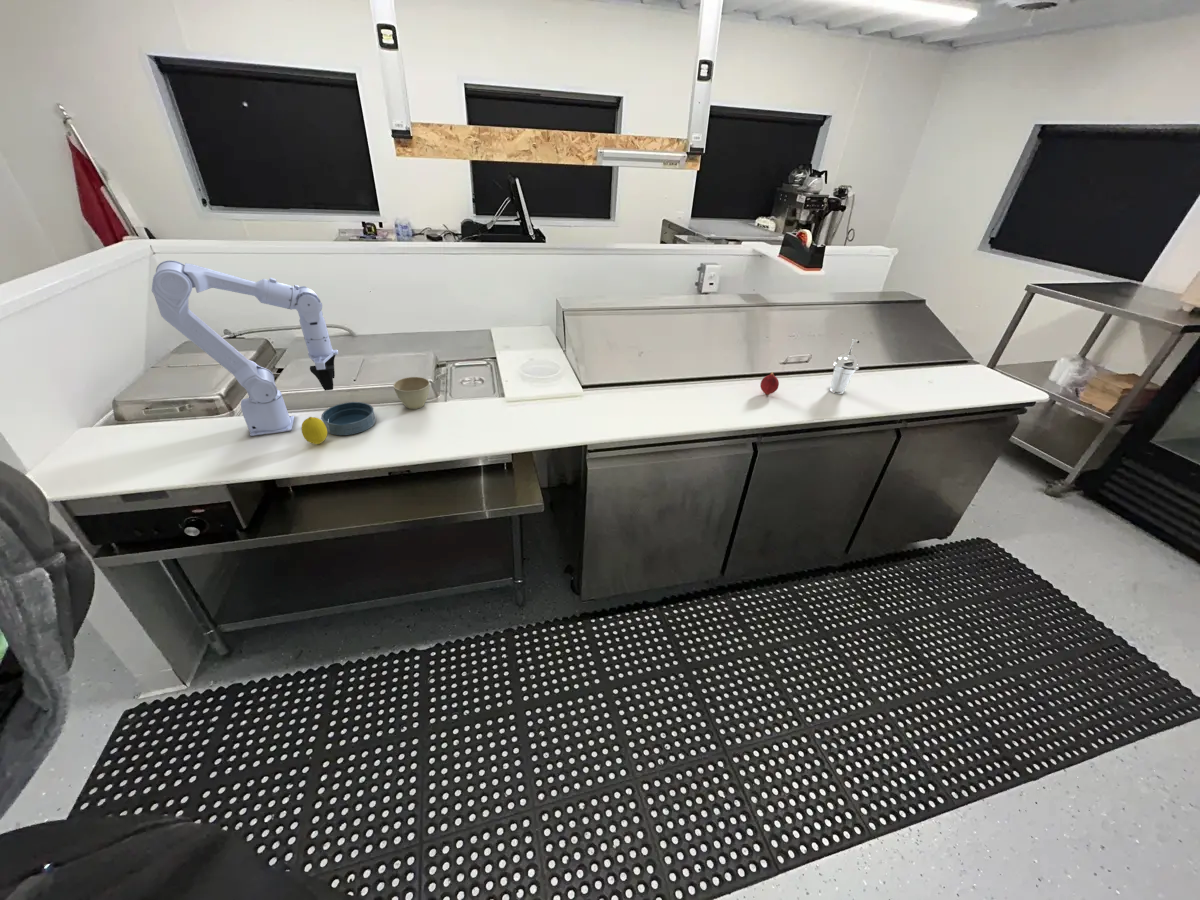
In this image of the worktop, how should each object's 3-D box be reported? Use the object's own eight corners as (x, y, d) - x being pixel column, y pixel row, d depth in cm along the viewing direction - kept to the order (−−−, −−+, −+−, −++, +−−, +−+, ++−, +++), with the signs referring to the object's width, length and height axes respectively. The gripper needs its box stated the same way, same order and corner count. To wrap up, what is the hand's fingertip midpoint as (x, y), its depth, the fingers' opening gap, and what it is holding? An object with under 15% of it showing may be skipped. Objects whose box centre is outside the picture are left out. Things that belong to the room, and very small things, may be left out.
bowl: (323, 439, 128) (319, 428, 126) (326, 416, 138) (322, 405, 136) (376, 432, 132) (373, 420, 130) (375, 410, 142) (373, 399, 140)
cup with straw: (852, 391, 170) (873, 336, 159) (844, 399, 164) (864, 342, 153) (828, 383, 174) (846, 329, 164) (819, 391, 169) (837, 335, 158)
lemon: (335, 442, 127) (327, 415, 123) (316, 452, 123) (308, 424, 118) (320, 436, 129) (312, 410, 124) (301, 446, 125) (292, 419, 120)
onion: (777, 398, 162) (784, 376, 158) (760, 398, 162) (766, 376, 157) (772, 391, 167) (778, 369, 162) (756, 390, 167) (761, 368, 162)
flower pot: (422, 415, 141) (418, 393, 137) (390, 410, 142) (386, 388, 138) (438, 400, 149) (435, 378, 145) (408, 395, 151) (404, 374, 147)
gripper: (332, 344, 123) (344, 393, 130) (334, 326, 134) (346, 371, 141) (300, 347, 120) (315, 396, 128) (305, 328, 131) (319, 374, 139)
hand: (329, 383), depth 134 cm, fingers open, 7 cm apart
